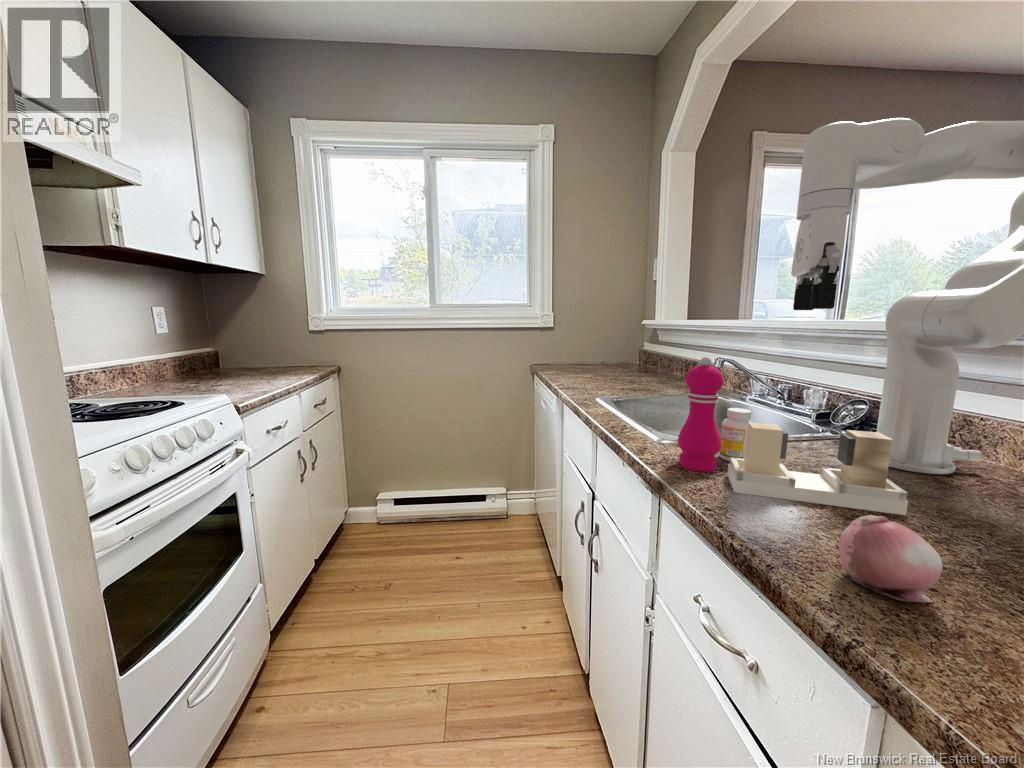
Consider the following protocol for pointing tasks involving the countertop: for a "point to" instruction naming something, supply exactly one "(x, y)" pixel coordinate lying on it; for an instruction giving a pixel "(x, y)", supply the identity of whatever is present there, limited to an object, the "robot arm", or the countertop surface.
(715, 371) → the pepper mill
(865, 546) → the pink shallot
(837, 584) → the countertop surface
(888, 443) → the block
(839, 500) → the rail
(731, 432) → the supplement bottle
